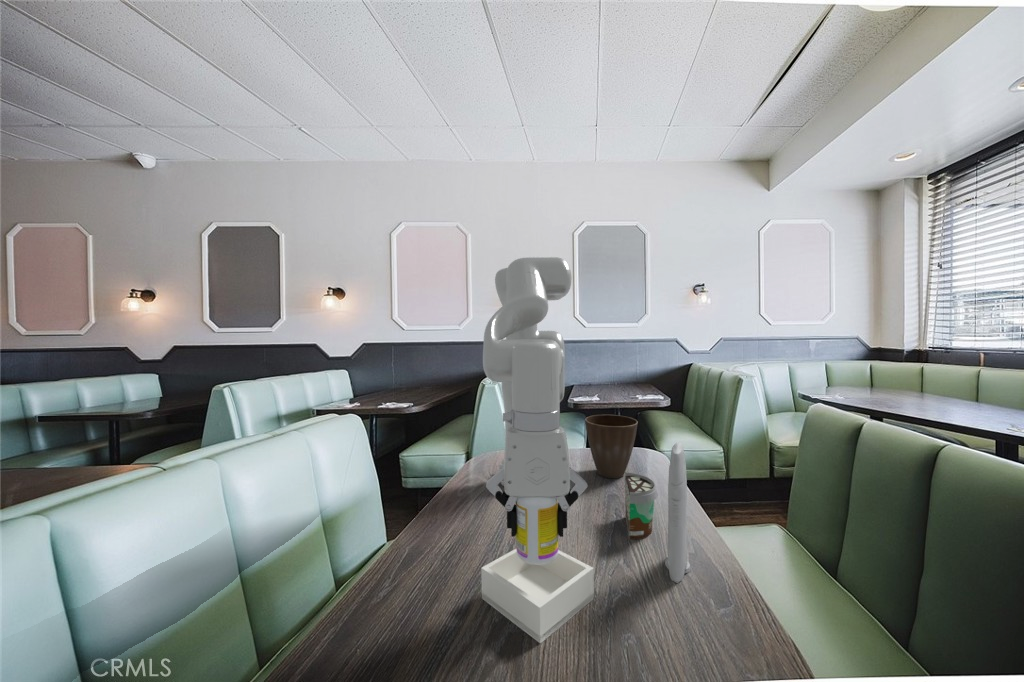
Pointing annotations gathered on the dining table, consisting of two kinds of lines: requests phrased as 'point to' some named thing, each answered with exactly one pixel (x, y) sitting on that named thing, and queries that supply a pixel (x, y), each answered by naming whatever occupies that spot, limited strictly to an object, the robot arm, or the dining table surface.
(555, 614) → the box
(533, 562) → the supplement bottle
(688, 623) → the dining table surface
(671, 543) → the tall pale column
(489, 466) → the dining table surface
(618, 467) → the plant pot
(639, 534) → the food container
